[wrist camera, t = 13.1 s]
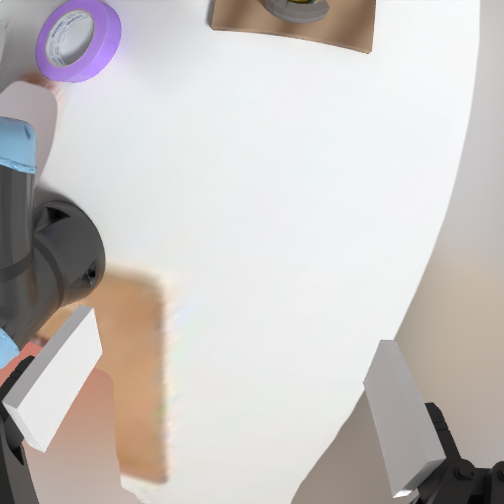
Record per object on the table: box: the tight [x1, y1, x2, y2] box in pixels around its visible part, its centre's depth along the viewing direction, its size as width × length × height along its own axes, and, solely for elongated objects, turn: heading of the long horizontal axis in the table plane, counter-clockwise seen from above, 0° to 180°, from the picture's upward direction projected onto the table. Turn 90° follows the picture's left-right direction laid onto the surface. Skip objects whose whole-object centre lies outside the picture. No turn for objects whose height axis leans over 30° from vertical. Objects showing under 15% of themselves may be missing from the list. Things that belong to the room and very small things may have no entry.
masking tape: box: [36, 0, 121, 83], centre depth 29 cm, size 12×12×4 cm
